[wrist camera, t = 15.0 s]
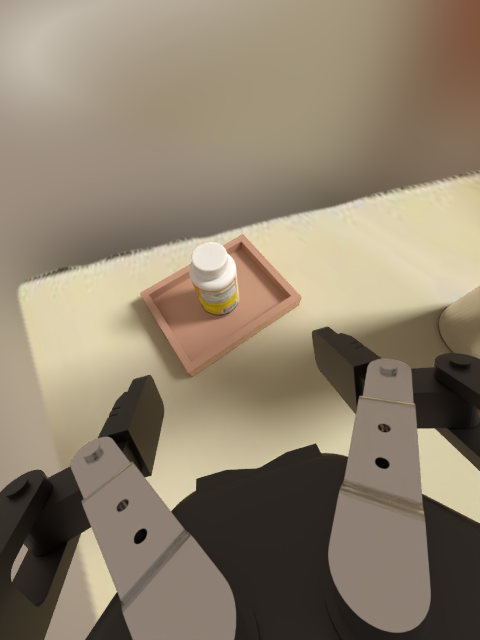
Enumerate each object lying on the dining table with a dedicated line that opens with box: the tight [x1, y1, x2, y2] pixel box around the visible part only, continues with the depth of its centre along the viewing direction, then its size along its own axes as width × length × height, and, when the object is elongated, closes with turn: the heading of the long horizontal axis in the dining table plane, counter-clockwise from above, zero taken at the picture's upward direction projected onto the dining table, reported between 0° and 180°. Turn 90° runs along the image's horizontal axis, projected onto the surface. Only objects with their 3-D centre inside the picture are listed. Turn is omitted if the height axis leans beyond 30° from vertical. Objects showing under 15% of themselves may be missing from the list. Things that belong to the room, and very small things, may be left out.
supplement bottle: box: [189, 242, 239, 317], centre depth 32 cm, size 6×6×10 cm
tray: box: [140, 234, 301, 377], centre depth 37 cm, size 18×14×2 cm
